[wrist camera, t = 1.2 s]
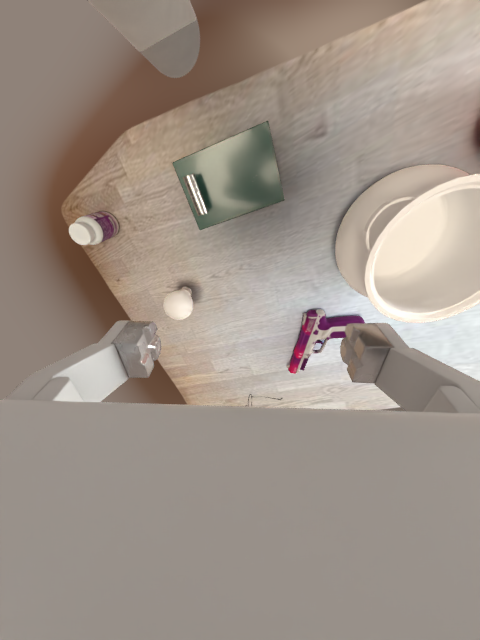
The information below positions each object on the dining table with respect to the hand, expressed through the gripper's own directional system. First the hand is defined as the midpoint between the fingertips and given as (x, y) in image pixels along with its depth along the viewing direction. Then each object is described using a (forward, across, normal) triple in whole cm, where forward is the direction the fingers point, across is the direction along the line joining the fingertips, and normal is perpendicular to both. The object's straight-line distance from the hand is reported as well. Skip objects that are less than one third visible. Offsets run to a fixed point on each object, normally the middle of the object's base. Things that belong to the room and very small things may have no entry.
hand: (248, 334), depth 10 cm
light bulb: (+45, +17, +20) cm, 52 cm away
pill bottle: (+45, +32, +4) cm, 56 cm away
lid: (+36, +4, -4) cm, 36 cm away
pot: (+44, -29, +7) cm, 53 cm away
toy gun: (+42, -26, +37) cm, 62 cm away
